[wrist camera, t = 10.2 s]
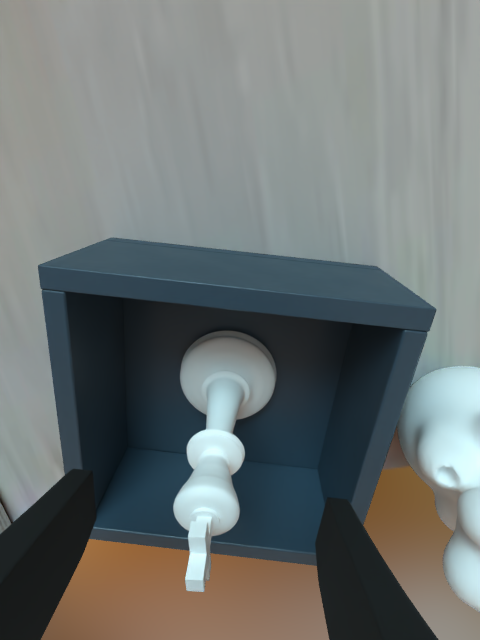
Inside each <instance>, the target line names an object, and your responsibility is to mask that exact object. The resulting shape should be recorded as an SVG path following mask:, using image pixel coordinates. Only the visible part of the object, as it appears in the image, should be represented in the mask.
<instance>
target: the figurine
mask: <svg viewBox="0 0 480 640" xmlns="http://www.w3.org/2000/svg"><path fill="white" fill-rule="evenodd" d="M397 429H398V437H399V442H400V445H401V448H402V451H403V453H404V456H405V458H406V460H407V461H408V463H409V465H410V466H411V468H412V469H413V470H414V471H415V472H416V474H417V475H418V476H419V477H420V478H421V479H422V480H423V481H424V482H425V483H426V484H427V485H428V486H429V487H430V488H431V489H432V490H433V492H434V495H435V505H436V510H437V513H438V515H439V517H440V518H441V520H442V521H443V522H444V524H446V526H448V527H449V528H450V529H451V530H453V531H454V533H453V535H452V537H451V539H450V540H449V542H448V544H447V546H446V548H445V550H444V554H443V569H444V574H445V577H446V579H447V582H448V584H449V585H450V587H451V589H452V590H453V592H454V593H455V594H456V595H457V596H458V597H459V598H460V599H461V600H462V601H463V602H464V603H466V604H467V605H469V606H471V607H472V608H474V609H476V610H477V611H478V612H479V613H480V368H476V367H469V366H454V367H446V368H442V369H438V370H435V371H432V372H430V373H428V374H426V375H424V376H423V377H421V378H420V379H419V380H417V381H416V382H415V383H414V384H413V385H412V386H411V387H410V389H409V391H408V394H407V397H406V400H405V403H404V406H403V409H402V412H401V415H400V417H399V420H398V423H397Z"/></svg>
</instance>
